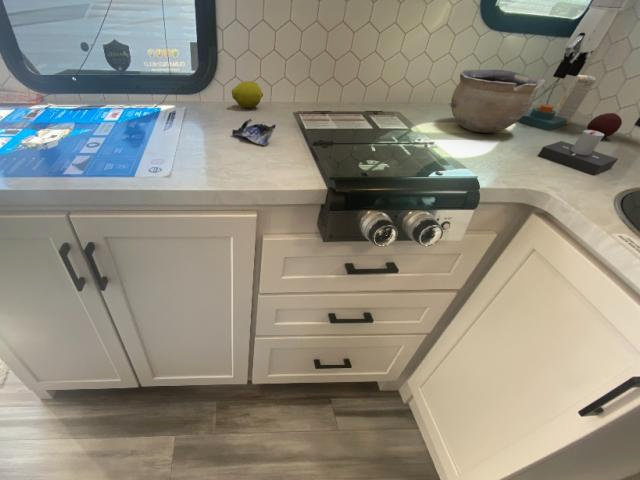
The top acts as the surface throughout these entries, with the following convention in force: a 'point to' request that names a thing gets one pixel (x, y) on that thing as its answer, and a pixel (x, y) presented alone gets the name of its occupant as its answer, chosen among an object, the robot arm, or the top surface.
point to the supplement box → (574, 96)
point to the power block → (542, 119)
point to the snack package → (255, 132)
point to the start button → (545, 108)
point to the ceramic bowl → (492, 99)
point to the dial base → (577, 158)
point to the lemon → (247, 94)
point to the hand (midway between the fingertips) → (565, 76)
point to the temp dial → (587, 142)
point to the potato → (605, 124)
